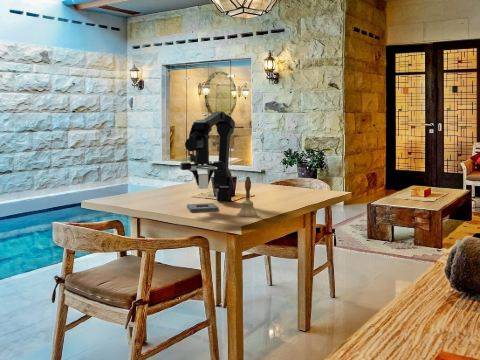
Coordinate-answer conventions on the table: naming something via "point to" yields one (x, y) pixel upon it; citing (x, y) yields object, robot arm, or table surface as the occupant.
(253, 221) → the table surface
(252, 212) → the hand bell
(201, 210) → the outlet plate
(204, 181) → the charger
